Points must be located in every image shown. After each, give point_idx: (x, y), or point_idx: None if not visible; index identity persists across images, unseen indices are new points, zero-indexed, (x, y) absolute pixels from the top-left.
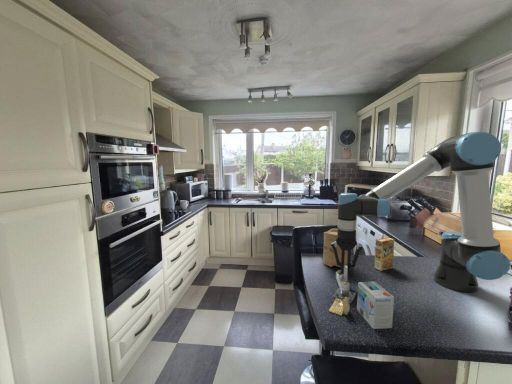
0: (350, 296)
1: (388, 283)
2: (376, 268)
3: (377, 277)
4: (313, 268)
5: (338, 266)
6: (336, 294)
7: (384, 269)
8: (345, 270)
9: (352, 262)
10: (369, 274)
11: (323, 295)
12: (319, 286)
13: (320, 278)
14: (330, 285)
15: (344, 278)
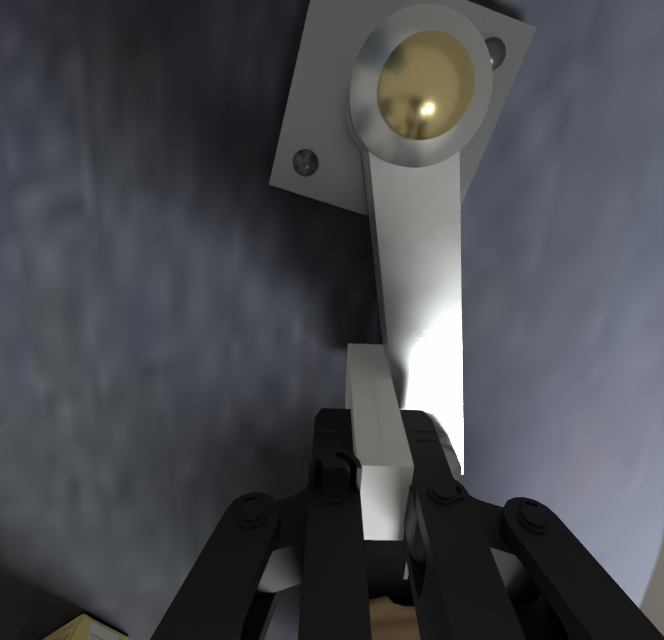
0: (331, 79)
1: (13, 467)
2: (113, 632)
3: (100, 529)
4: (596, 545)
5: (390, 600)
6: (496, 59)
7: (59, 630)
8: (383, 436)
9: (263, 606)
10: (158, 555)
11: (635, 50)
12: (626, 251)
13: (575, 406)
14: (503, 304)
15: (388, 336)
